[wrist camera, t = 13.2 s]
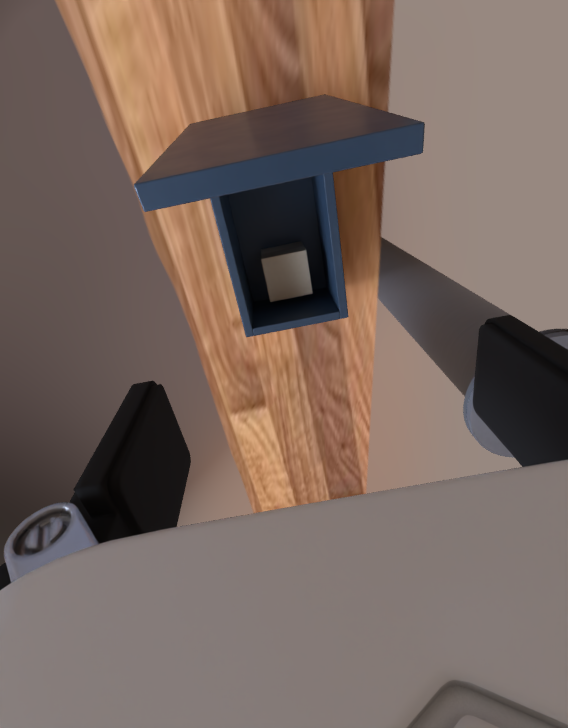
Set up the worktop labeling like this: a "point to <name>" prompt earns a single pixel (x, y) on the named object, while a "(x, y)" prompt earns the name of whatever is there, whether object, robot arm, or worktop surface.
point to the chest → (275, 228)
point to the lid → (275, 149)
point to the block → (286, 271)
